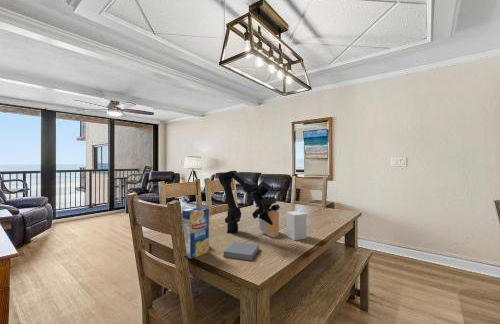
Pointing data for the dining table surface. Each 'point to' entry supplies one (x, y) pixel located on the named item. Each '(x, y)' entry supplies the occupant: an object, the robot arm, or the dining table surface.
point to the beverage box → (196, 231)
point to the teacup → (262, 225)
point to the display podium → (241, 250)
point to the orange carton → (274, 228)
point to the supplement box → (296, 225)
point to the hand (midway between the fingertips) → (274, 223)
